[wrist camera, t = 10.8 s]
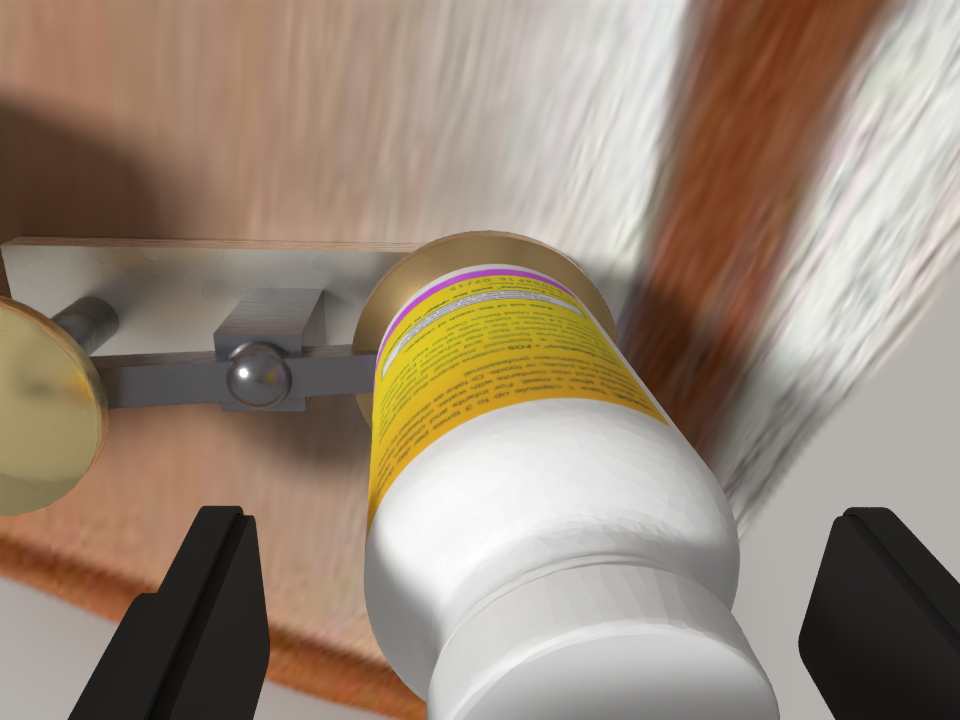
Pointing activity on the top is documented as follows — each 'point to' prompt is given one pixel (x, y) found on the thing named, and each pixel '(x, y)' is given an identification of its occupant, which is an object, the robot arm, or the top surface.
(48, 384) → the balance
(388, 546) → the supplement bottle
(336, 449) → the top surface
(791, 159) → the top surface
